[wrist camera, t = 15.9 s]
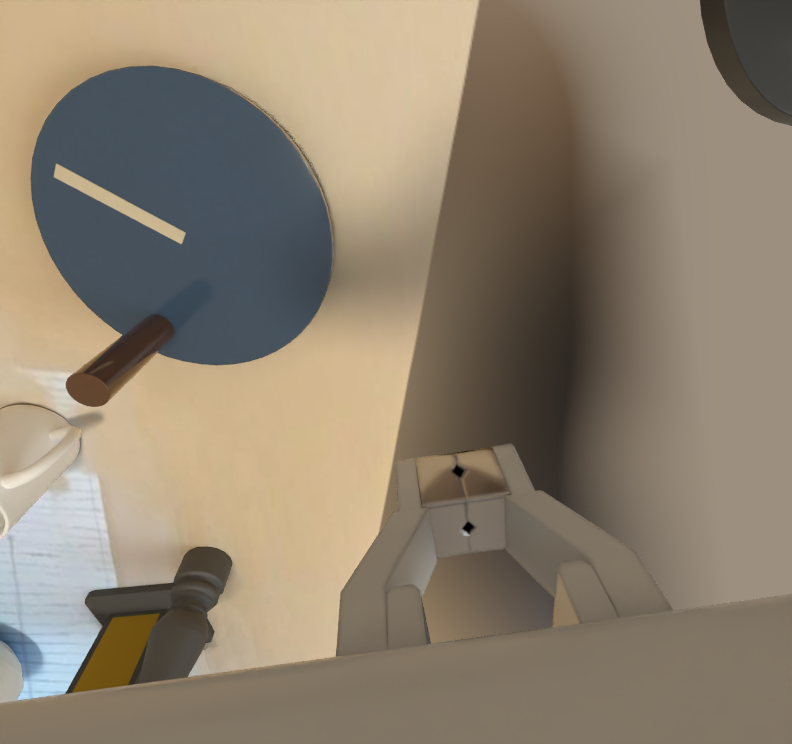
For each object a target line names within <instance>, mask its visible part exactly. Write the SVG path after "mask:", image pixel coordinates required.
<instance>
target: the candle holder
mask: <svg viewBox="0 0 792 744" xmlns="http://www.w3.org/2000/svg"><path fill="white" fill-rule="evenodd" d="M231 566H232V561H231V558H230V557H229V556H228V555H227V554H226V553H225V552H223V551H220V550H218V549H215V548H210V547H197V548H195V549H192V550H190V551H188V552H187V553H186V554H185V556H184V558H183V560H182V563H181V565H180V567H179V569H178V571H177V574H176V576H175V578H174V583H173V585H174V587H173V588H172V590H171V594H170V599H171V604H172V607H171V608H170V609H169V610H168V613H166V614H165V615H164V616H163V617H162V618H161V619H160V620H159V621H157V622H156V624H155V625H154V626H153V628H152V629H151V632H150V634H149V639H148V643H147V648H146V652H145V657H144V661H143V666H142V670H141V675H140V679H139V684H141V683H149V682H156V681H163V680H171V679H178V678H185V677H188V675H189V673H190V671H191V670H192V668H193V666H194V664H195V663H196V661H197V659H198V657H199V656H200V654H201V652H202V650H203V649H204V647H205V644H206V641H207V637H208V624H207V622H206V619H207V612H208V611H209V610H211V609H212V608H213V607H214V606H215V605H216V604H217V603H218V599H219V595H220V594H222V593H223V591H224V588H225V585H226V582H227V579H228V576H229V573H230V570H231Z"/></svg>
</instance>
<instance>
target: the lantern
mask: <svg viewBox="0 0 792 744" xmlns="http://www.w3.org/2000/svg"><path fill="white" fill-rule="evenodd" d="M173 587H174V585H173V583H172V584H161V585H149V586H138V587H127V588H116V589H105V590H94V591H92V592H89V594H88V596H87V597H86V599H85V604H86V606H87V607H88V608H89V609H90V611H91V612H92V613H93V614H94V615H95V617H96V618H97V619H98V620H99V622H100V623H101V624H102V625H103V627H102V629H101V630H100V632H99V634H98V636H97V638H96V639H95V641H94V643H93V645H92V647H91V649H90V650H89V652H88V654H87V656H86V658H85V659H84V661H83V663H82V665H81V667H80V668H79V670H78V672H77V674H76V676H75V677H74V679H73V681H72V683H71V685H70V686H69V688H68V690H67V692H66V694H68V693H75V692H83V691H90V690H97V689H105V688H112V687H119V686H127V685H134V684H139V679H140V675H141V670H142V666H143V661H144V657H145V652H146V648H147V643H148V639H149V634H150V632H151V629H152V628H153V626H154V625H155V624H156V622H157V621H159V620H160V619H161V618H162V617H163V616H164V615H165V614H166V613H168V610H169V609H170V608H171V607H172V604H171V599H170V594H171V590H172V588H173ZM206 622H207V624H208V637H207V641H206V643H209V642H211V640H212V638H213V635H214V630H213V628H212V626H211V625H210V623H209V621H208V619H206Z"/></svg>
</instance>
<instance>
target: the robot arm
mask: <svg viewBox="0 0 792 744" xmlns="http://www.w3.org/2000/svg"><path fill="white" fill-rule="evenodd" d="M395 472H396V485H397V500H398V512H393V513H392V514H391V516H390V517H389V519H388V520H387V522H386V523H385V525H384V527H383V528H382V529H381V531H380V532H379V534H378V536H377V537H376V539H375V540H374V542H373V543H372V545H371V546H370V548H369V549H368V551H367V553H366V554H365V556H364V557H363V559H362V560H361V562H360V563H359V565H358V566H357V568H356V570H355V571H354V573H353V574H352V576H351V577H350V579H349V580H348V582H347V583H346V585H345V587H344V588H343V590H342V591H341V595H340V609H339V622H338V636H337V649H336V657H331V658H324V659H317V660H309V661H302V662H295V663H287V664H280V665H273V666H266V667H258V668H251V669H244V670H236V671H229V672H222V673H215V674H207V675H200V676H193V677H185V678H178V679H171V680H163V681H156V682H149V683H141V684H134V685H127V686H119V687H112V688H105V689H97V690H90V691H83V692H75V693H68V694H61V695H53V696H46V697H39V698H31V699H24V700H17V701H9V702H2V703H0V744H792V594H789V595H782V596H775V597H767V598H761V599H753V600H745V601H739V602H731V603H724V604H717V605H710V606H702V607H695V608H687V609H680V610H673V609H672V607H671V605H670V604H669V602H668V601H667V599H666V598H665V596H664V595H663V593H662V592H661V590H660V588H659V587H658V585H657V584H656V582H655V581H654V579H653V578H652V576H651V575H650V573H649V572H648V570H647V568H646V567H645V565H644V564H643V562H642V561H641V559H640V557H639V556H638V554H637V553H636V551H634V550H633V549H631V548H630V547H628V546H626V545H625V544H623V543H622V542H620V541H619V540H617V539H616V538H614V537H613V536H611V535H610V534H608V533H606V532H605V531H603V530H602V529H600V528H598V527H597V526H596V525H594V524H593V523H591V522H589V521H588V520H586V519H585V518H583V517H582V516H580V515H578V514H577V513H575V512H574V511H572V510H571V509H569V508H568V507H566V506H565V505H563V504H562V503H560V502H558V501H557V500H555V499H554V498H552V497H551V496H549V495H548V494H546V493H545V492H543V491H535V490H534V488H533V485H532V483H531V481H530V479H529V477H528V475H527V473H526V471H525V469H524V467H523V464H522V462H521V460H520V458H519V456H518V454H517V452H516V450H515V448H514V446H513V445H512V444H505V445H500V446H494V447H491V448H490V447H489V448H482V449H476V450H470V451H464V452H458V453H452V454H444V455H437V456H429V457H420V458H416V461H415V459H408V460H400V461H396V463H395ZM498 549H506V551H507V552H508V553H509V554H511V556H512V557H513V558H514V559H515V560H516V561H517V562H518V563H519V564H520V565H521V566H522V567H523V568H524V569H525V570H526V571H527V572H528V573H529V574H530V575H531V576H533V578H535V580H536V581H538V582H539V583H540V585H541V586H543V587H544V588H545V589H546V590H547V591H548V592H549V593H550V594H551V595H552V596H553V597H554V598H555V605H554V615H553V626H552V627H549V628H542V629H535V630H528V631H520V632H513V633H506V634H499V635H491V636H484V637H477V638H470V639H462V640H455V641H448V642H441V643H433V644H431V642H430V637H429V632H428V627H427V622H426V617H425V612H424V607H423V603H422V597H423V594H424V591H425V589H426V587H427V584H428V582H429V579H430V577H431V574H432V572H433V569H434V567H435V564H436V562H437V558H442V557H448V556H454V555H460V554H466V553H472V552H481V551H489V550H498Z"/></svg>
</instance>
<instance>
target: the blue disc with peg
mask: <svg viewBox="0 0 792 744" xmlns="http://www.w3.org/2000/svg"><path fill="white" fill-rule="evenodd" d="M31 192H32V201H33V207H34V212H35V217H36V221H37V224H38V227H39V230H40V233H41V236H42V239H43V241H44V243H45V245H46V247H47V250H48V252H49V254H50V256H51V258H52V260H53V261H54V263H55V265H56V266H57V268H58V270H59V271H60V273H61V275H62V276H63V278H64V279H65V280H66V282H67V283H68V284H69V286H70V287H71V288H72V290H73V291H74V292H75V293H76V294H77V296H78V297H79V298H80V299H81V300H82V301H83V302H84V303H85V304H86V305H87V307H88V308H90V309H91V310H92V311H93V312H94V313H95V314H96V315H97V316H98V317H99V318H101V319H102V320H103V321H104V322H105V323H107V324H108V325H109V326H111V327H112V328H113V329H115V330H116V331H117V332H119V333H120V334H122V336H121V337H120V338H119V339H117V340H116V341H115V342H113V343H112V344H111V345H110V346H108V347H107V348H106V349H104V350H103V351H102V352H101V353H99V354H98V355H97V356H95V357H94V358H93V359H92V360H90V361H89V362H88V363H86V364H85V365H84V366H83V367H81V368H80V369H79V370H77V371H76V372H75V373H73V374H72V375H71V376H70V377H69V378H68V379H67V381H66V389H67V391H68V393H69V394H70V396H71V397H72V398H73V399H75V400H76V401H77V402H79V403H81V404H83V405H86V406H91V407H98V406H102V405H104V404H106V403H107V402H108V401H109V400H110V399H111V398H112V397H113V396H114V395H115V394H116V393H117V392H118V391H119V390H120V389H121V388H122V387H123V386H124V385H125V384H126V383H127V382H128V381H129V380H130V379H131V378H132V377H134V376H135V375H136V374H137V373H138V372H139V371H140V370H141V369H142V368H143V367H144V366H145V365H146V364H147V363H148V362H149V361H150V360H151V359H152V358H153V357H154V356H155V355H156V354H157V353H159V354H162V355H164V356H167V357H170V358H174V359H178V360H181V361H186V362H192V363H198V364H208V365H228V364H237V363H243V362H249V361H252V360H255V359H259V358H262V357H264V356H267V355H269V354H271V353H273V352H276V351H277V350H279V349H281V348H282V347H284V346H285V345H287V344H289V343H290V342H291V341H292V340H293V339H295V338H296V337H297V336H298V335H299V334H300V333H301V332H302V331H303V330H304V329H305V328H306V327H307V326H308V324H309V323H310V322H311V320H312V319H313V317H314V316H315V314H316V313H317V311H318V310H319V308H320V305H321V303H322V301H323V299H324V297H325V294H326V291H327V288H328V284H329V281H330V278H331V272H332V266H333V252H334V241H333V231H332V223H331V219H330V215H329V210H328V206H327V203H326V200H325V197H324V195H323V192H322V189H321V186H320V184H319V182H318V180H317V178H316V176H315V174H314V172H313V170H312V168H311V166H310V165H309V163H308V162H307V160H306V159H305V157H304V156H303V154H302V152H301V151H300V149H299V148H298V147H297V145H296V144H295V143H294V142H293V141H292V139H291V138H290V137H289V136H288V135H287V133H286V132H285V131H284V130H283V129H282V128H281V127H280V126H279V125H278V124H277V123H276V122H275V121H274V120H273V119H272V118H271V117H270V116H269V115H268V114H267V113H265V112H264V111H263V110H261V109H260V108H259V107H258V106H256V105H255V104H254V103H252V102H251V101H250V100H248V99H247V98H245V97H244V96H242V95H240V94H238V93H237V92H235V91H233V90H232V89H230V88H228V87H226V86H224V85H222V84H219V83H217V82H215V81H212V80H210V79H208V78H205V77H203V76H200V75H197V74H193V73H190V72H186V71H182V70H179V69H174V68H166V67H158V66H132V67H125V68H120V69H115V70H111V71H107V72H105V73H102V74H100V75H97V76H95V77H92V78H90V79H88V80H86V81H85V82H83V83H82V84H80V85H78V86H77V87H75V88H74V89H72V90H71V91H70V92H69V93H68V94H67V95H66V96H65V97H64V98H63V99H62V100H61V101H60V102H58V103H57V105H56V106H55V108H54V109H53V110H52V112H51V113H50V115H49V116H48V117H47V119H46V120H45V123H44V125H43V127H42V129H41V131H40V134H39V136H38V138H37V142H36V146H35V150H34V154H33V158H32V169H31Z"/></svg>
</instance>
